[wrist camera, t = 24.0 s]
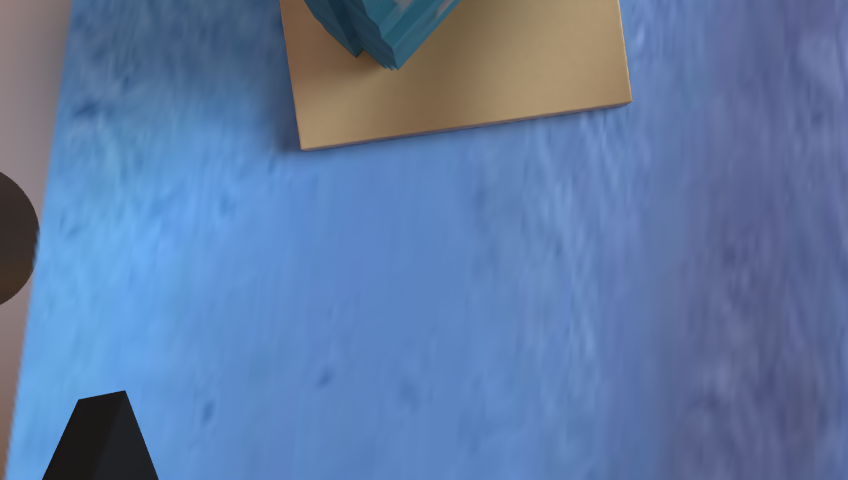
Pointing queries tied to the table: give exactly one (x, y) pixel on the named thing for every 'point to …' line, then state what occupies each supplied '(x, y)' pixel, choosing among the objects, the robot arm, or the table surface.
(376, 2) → the handheld gaming console
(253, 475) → the table surface
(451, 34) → the cork mat
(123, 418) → the robot arm
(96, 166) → the table surface
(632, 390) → the table surface
